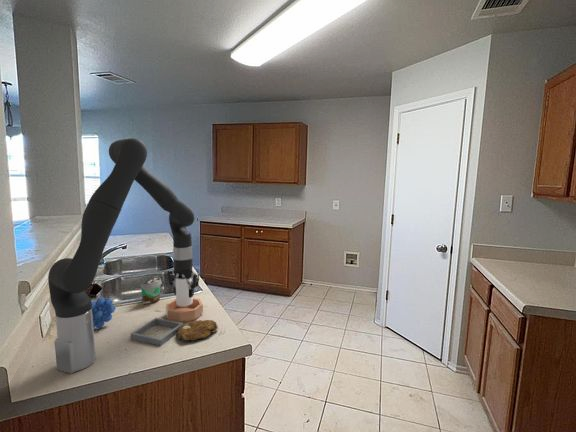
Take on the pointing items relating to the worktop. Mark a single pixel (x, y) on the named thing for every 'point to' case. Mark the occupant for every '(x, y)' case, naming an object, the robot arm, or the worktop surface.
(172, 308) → the bowl
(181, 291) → the can
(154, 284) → the food container
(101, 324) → the grapes
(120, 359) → the worktop surface
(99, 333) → the worktop surface
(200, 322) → the decorative rock
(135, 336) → the tray
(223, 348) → the worktop surface
